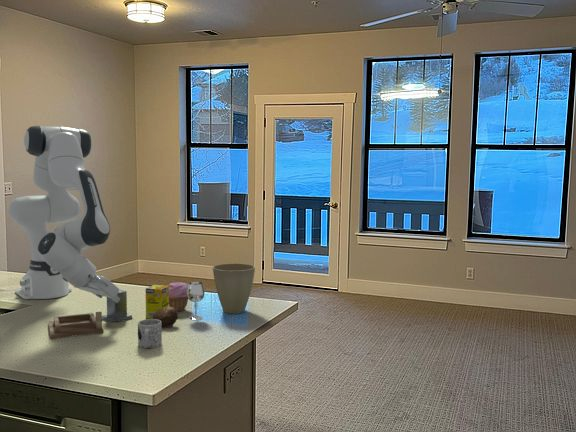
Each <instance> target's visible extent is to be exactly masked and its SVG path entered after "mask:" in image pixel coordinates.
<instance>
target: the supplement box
mask: <svg viewBox="0 0 576 432" xmlns="http://www.w3.org/2000/svg"><path fill="white" fill-rule="evenodd" d="M166 307H169V286H168V285H160V284H153V285H151V286H149V287H145V320H147V319H153V315H154V314H155V312H156V311H158V310H159V309H162V308H166Z"/></svg>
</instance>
